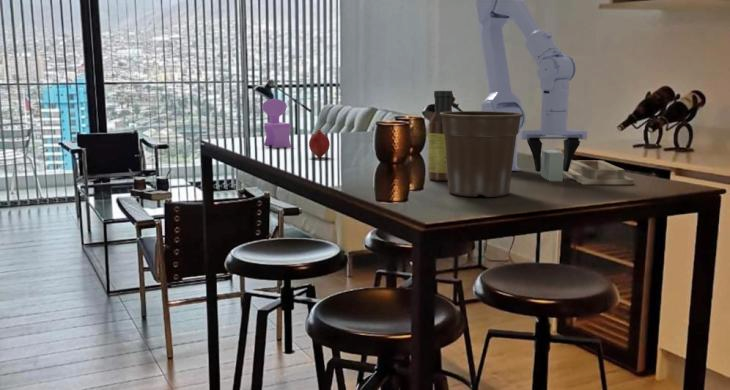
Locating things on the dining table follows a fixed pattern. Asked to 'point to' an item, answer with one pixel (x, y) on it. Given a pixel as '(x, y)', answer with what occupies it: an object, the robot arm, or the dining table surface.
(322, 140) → the onion
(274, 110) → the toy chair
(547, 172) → the pale teal block
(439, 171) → the sauce bottle
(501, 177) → the plant pot
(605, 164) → the beige rectangular tray
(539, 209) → the dining table surface
